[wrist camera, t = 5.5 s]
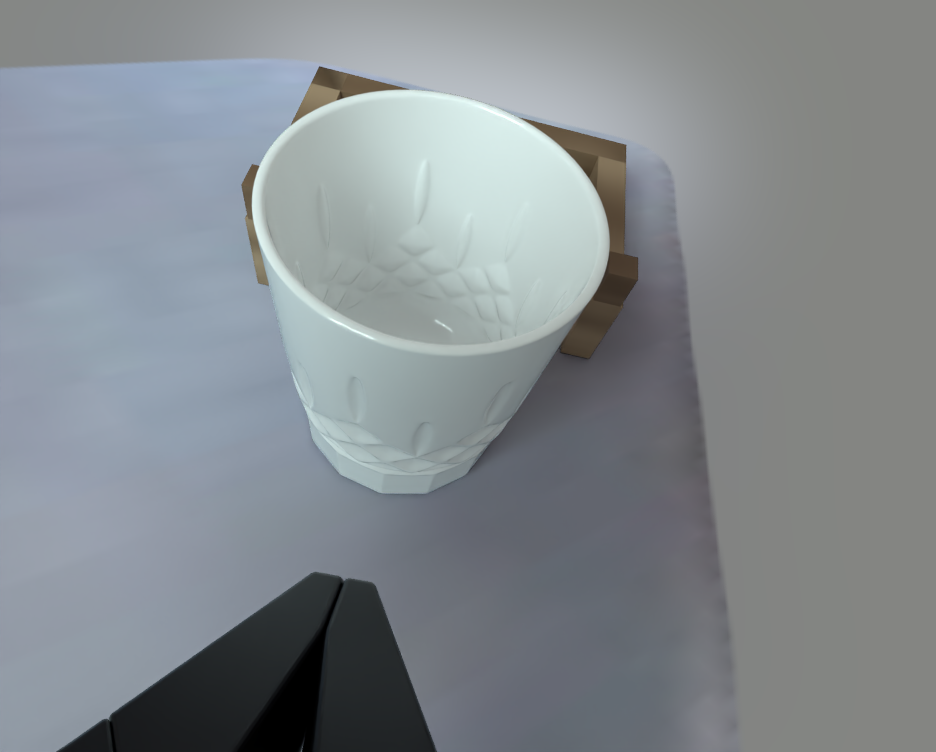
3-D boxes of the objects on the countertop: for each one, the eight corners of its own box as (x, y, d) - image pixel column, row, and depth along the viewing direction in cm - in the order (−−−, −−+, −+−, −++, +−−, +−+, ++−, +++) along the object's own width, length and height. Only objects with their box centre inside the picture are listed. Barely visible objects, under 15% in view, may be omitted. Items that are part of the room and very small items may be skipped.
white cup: (492, 536, 20) (603, 395, 11) (256, 485, 19) (188, 296, 11) (520, 344, 24) (616, 135, 16) (326, 298, 23) (315, 55, 15)
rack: (589, 358, 24) (640, 280, 20) (258, 283, 23) (238, 184, 19) (597, 204, 29) (640, 115, 25) (322, 136, 28) (317, 30, 24)
